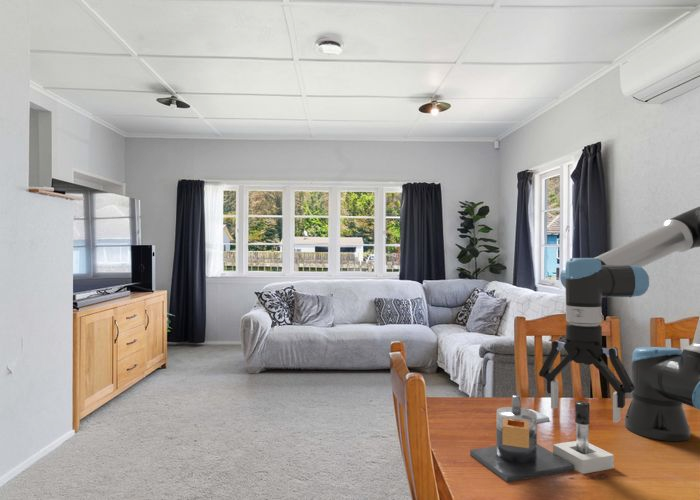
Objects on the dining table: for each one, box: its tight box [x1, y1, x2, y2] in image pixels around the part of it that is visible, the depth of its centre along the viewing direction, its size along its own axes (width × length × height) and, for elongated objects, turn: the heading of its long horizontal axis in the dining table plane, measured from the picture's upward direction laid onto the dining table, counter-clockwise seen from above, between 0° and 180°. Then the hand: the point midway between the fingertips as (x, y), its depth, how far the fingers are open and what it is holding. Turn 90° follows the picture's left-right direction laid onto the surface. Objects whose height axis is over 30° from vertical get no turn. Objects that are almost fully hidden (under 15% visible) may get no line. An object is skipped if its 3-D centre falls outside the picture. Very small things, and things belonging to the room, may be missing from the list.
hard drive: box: [528, 408, 550, 423], centre depth 138 cm, size 2×8×12 cm
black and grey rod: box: [574, 400, 591, 454], centre depth 109 cm, size 3×3×14 cm
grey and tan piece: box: [495, 394, 538, 448], centre depth 107 cm, size 15×9×8 cm, turn 160°
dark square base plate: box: [469, 427, 575, 483], centre depth 109 cm, size 18×14×7 cm
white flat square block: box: [552, 440, 615, 475], centre depth 109 cm, size 9×9×3 cm
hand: (584, 414), depth 109 cm, fingers open, 13 cm apart
